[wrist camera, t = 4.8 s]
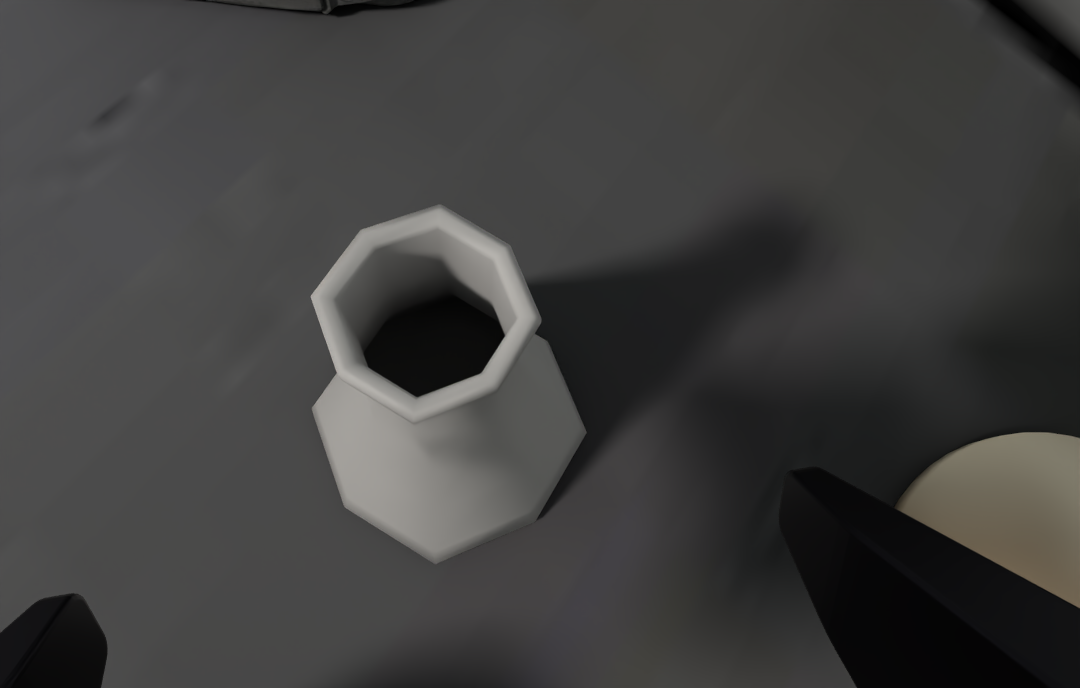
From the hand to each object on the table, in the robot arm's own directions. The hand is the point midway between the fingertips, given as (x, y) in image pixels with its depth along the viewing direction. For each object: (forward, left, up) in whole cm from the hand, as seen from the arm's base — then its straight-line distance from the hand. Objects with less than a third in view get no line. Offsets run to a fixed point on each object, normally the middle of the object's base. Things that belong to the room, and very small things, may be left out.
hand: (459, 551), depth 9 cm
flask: (+3, +2, -10) cm, 11 cm away
